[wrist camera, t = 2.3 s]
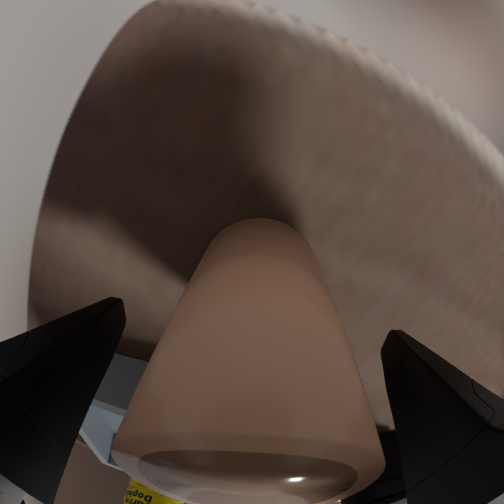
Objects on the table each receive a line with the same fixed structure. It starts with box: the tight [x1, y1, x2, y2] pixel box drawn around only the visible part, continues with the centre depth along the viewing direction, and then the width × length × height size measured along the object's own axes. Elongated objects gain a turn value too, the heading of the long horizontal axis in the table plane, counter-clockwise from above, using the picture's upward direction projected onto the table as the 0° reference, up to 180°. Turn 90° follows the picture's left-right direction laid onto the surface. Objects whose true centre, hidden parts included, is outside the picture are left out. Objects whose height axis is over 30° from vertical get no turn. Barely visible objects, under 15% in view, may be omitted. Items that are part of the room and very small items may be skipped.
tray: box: [79, 353, 149, 471], centre depth 15 cm, size 13×13×4 cm
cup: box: [111, 218, 386, 504], centre depth 8 cm, size 5×5×9 cm
